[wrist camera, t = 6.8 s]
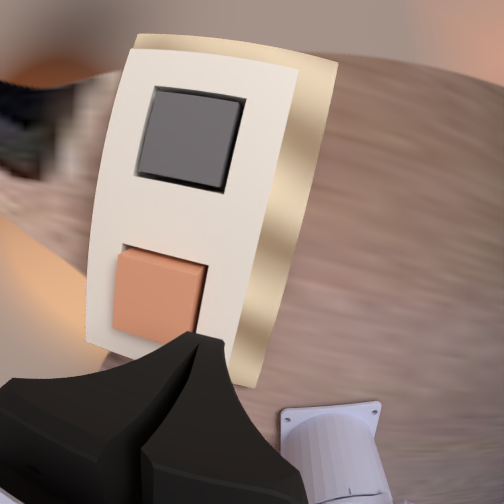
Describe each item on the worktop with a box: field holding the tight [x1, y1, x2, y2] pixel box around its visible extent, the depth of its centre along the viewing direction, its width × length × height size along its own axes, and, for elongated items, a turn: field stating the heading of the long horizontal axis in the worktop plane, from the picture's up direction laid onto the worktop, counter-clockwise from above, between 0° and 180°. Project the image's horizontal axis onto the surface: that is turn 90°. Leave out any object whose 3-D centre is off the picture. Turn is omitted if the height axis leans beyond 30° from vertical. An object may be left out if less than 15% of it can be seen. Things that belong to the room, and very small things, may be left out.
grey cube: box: [138, 91, 243, 187], centre depth 16 cm, size 4×4×4 cm
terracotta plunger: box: [112, 246, 209, 344], centre depth 17 cm, size 4×4×4 cm
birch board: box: [133, 34, 338, 388], centre depth 19 cm, size 22×13×1 cm, turn 167°
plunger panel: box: [85, 49, 299, 368], centre depth 17 cm, size 17×9×4 cm, turn 167°
